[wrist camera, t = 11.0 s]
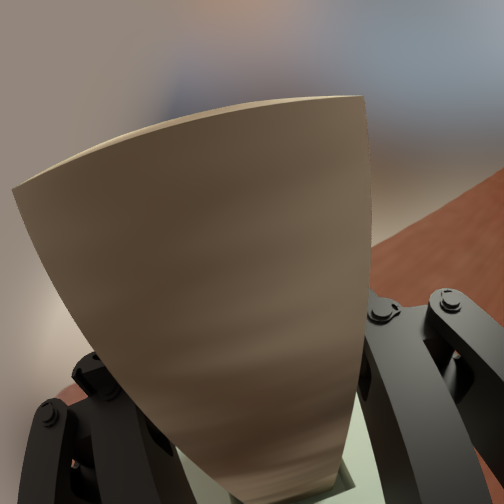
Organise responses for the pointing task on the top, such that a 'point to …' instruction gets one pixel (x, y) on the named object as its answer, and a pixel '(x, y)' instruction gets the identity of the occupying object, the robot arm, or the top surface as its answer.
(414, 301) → the top surface
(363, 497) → the end cap
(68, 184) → the wooden block
